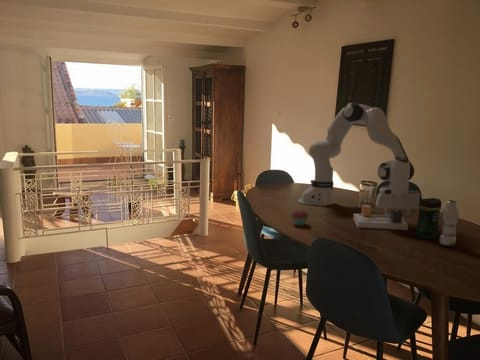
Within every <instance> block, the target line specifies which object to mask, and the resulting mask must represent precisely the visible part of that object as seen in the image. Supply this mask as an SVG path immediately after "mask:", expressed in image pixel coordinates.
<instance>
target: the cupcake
mask: <svg viewBox="0 0 480 360" xmlns="http://www.w3.org/2000/svg"><path fill="white" fill-rule="evenodd" d="M304 203H305V202H304ZM304 203H303V204H302V209H301V210H295V211H293V212H292V214H291V219H293V221H294V224H295V226H300V227H301V226H302V227H303V226H304V225H305V224H306V222H307V220H308V219H309V216H310V215H309V214H308V212H306V211H304V208H305V204H304Z"/></svg>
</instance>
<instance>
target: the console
mask: <svg viewBox="0 0 480 360" xmlns="http://www.w3.org/2000/svg"><path fill="white" fill-rule="evenodd" d="M352 217H353V218H352V219H353V221H354V223H355V225H356V226H357V228H365V229H381V230H383V229H384V230H385V229H386V230H397V231H398V230H401V231H402V230H405V231H408V229H409V224H408V222H407V221H406V220H405V219H404V217H402V221H401V223H398V222H392V221H391V214H389V217H386V216H385V214H374V213H373V214H372V213H371V217H368V216H363V215H362V213H353V216H352Z"/></svg>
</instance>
